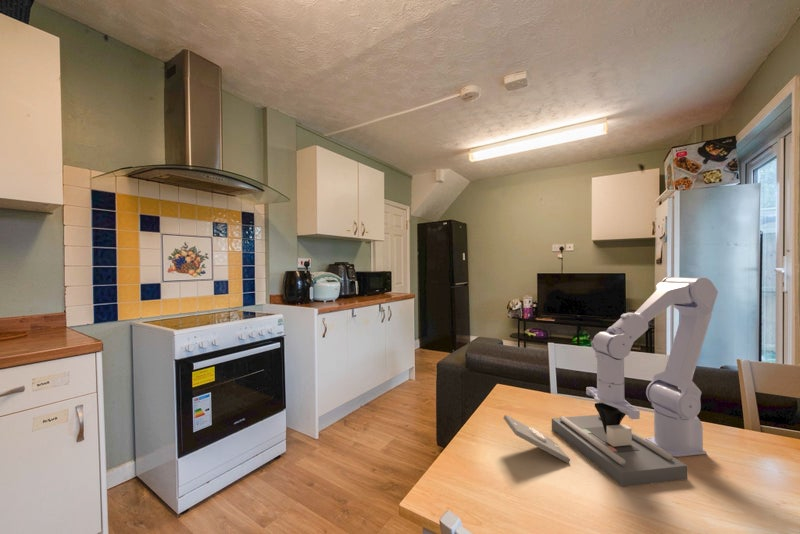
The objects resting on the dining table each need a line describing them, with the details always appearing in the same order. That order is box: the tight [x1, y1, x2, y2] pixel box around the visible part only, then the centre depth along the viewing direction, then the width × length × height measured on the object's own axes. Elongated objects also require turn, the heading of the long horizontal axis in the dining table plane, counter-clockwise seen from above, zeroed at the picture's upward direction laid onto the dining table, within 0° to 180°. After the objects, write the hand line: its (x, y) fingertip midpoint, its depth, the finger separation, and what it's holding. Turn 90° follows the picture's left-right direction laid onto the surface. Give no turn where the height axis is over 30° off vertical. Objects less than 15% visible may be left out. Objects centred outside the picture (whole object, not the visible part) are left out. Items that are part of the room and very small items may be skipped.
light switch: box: [503, 414, 571, 464], centre depth 78 cm, size 8×6×14 cm
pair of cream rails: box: [559, 413, 674, 466], centre depth 79 cm, size 13×21×1 cm, turn 8°
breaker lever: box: [607, 423, 633, 447], centre depth 76 cm, size 5×2×4 cm, turn 98°
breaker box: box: [551, 414, 689, 488], centre depth 79 cm, size 16×24×3 cm, turn 8°
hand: (610, 434), depth 79 cm, fingers closed
